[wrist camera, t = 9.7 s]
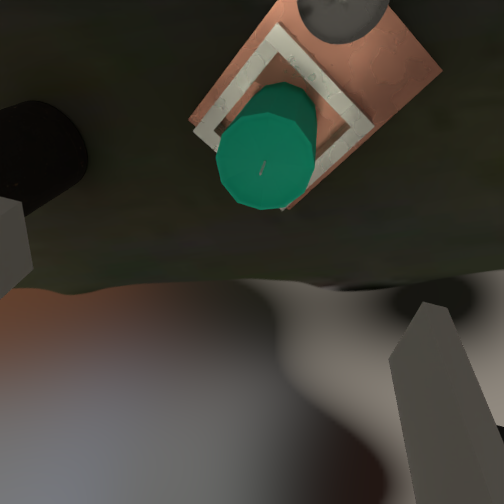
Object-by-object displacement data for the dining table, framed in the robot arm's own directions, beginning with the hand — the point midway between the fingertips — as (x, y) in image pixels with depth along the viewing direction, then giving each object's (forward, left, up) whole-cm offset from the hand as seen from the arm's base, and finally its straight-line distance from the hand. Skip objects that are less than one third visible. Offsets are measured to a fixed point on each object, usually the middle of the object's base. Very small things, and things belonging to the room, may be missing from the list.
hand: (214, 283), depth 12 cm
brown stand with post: (0, +3, -24) cm, 24 cm away
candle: (0, 0, -23) cm, 23 cm away
